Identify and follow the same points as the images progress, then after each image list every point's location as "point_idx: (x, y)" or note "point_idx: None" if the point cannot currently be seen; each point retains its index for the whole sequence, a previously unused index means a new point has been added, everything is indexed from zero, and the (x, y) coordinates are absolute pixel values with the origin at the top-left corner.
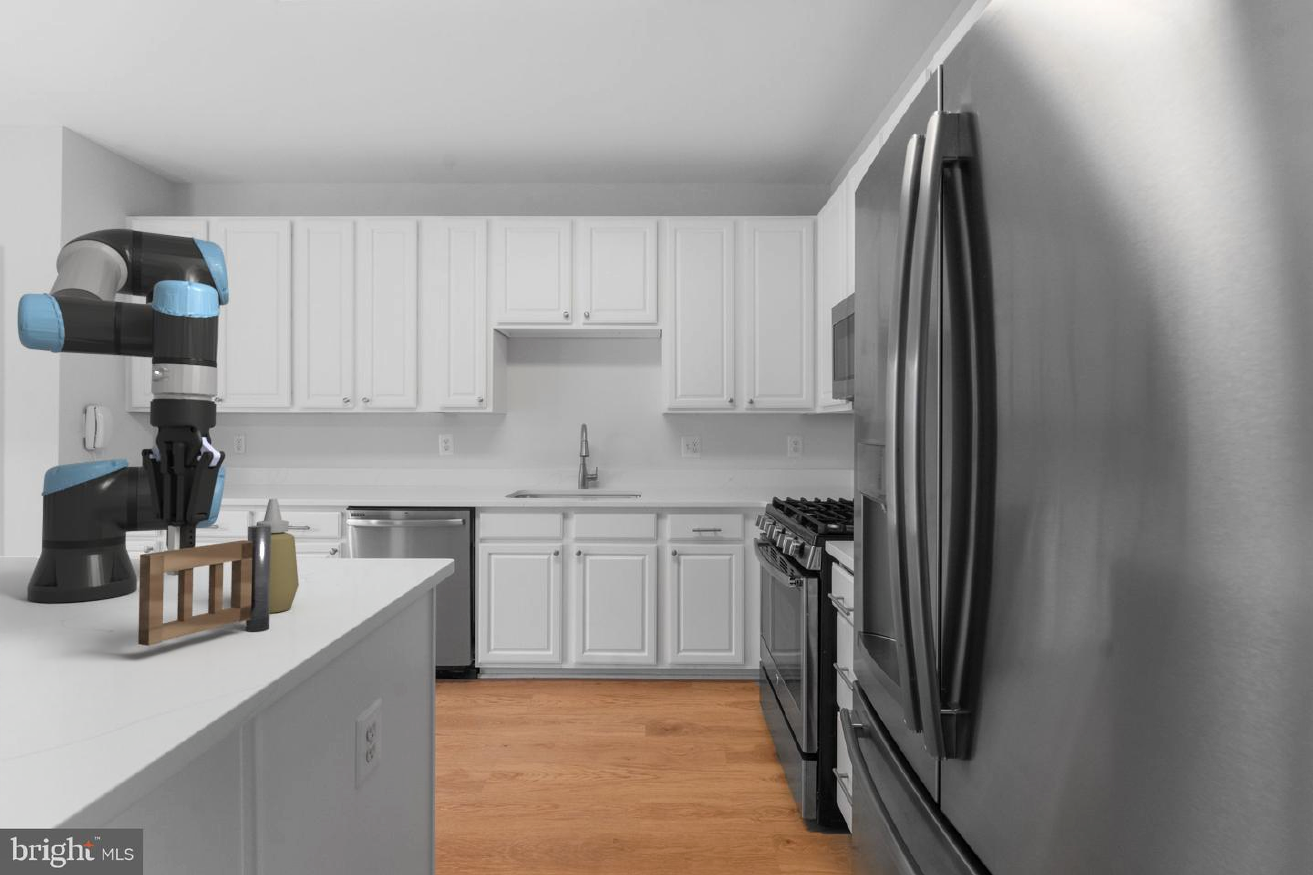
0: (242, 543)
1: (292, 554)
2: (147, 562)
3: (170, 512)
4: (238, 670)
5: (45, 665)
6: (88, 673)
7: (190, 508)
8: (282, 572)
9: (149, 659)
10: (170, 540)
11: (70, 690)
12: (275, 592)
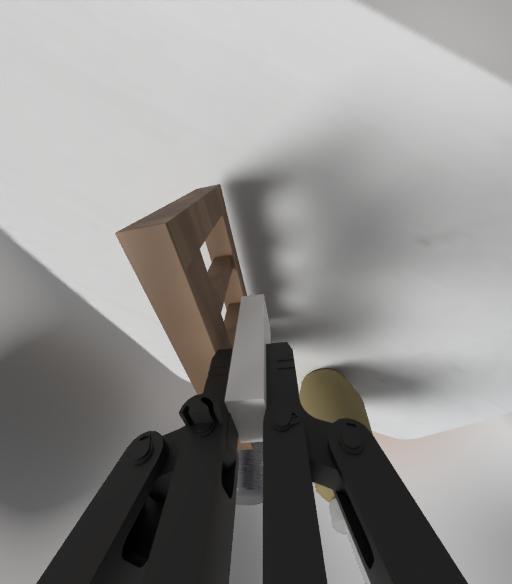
0: None
1: None
2: (138, 223)
3: (264, 466)
4: (79, 234)
5: (319, 63)
6: (206, 91)
7: (116, 505)
8: None
9: None
10: (251, 356)
11: (118, 11)
12: (301, 397)
